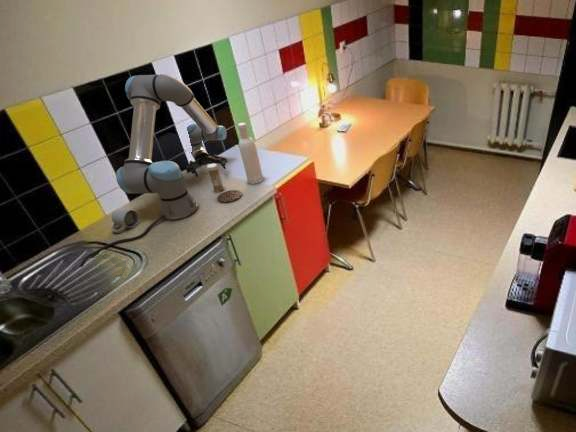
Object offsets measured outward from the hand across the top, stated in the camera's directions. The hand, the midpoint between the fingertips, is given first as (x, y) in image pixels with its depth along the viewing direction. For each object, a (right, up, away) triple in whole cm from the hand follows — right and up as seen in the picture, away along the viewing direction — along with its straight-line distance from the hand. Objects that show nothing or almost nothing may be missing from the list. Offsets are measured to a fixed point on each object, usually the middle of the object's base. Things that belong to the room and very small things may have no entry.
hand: (210, 170), depth 209 cm
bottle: (+21, -5, +4) cm, 22 cm away
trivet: (+13, -14, -10) cm, 21 cm away
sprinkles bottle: (+5, -10, -3) cm, 12 cm away
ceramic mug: (-25, -28, -27) cm, 46 cm away
